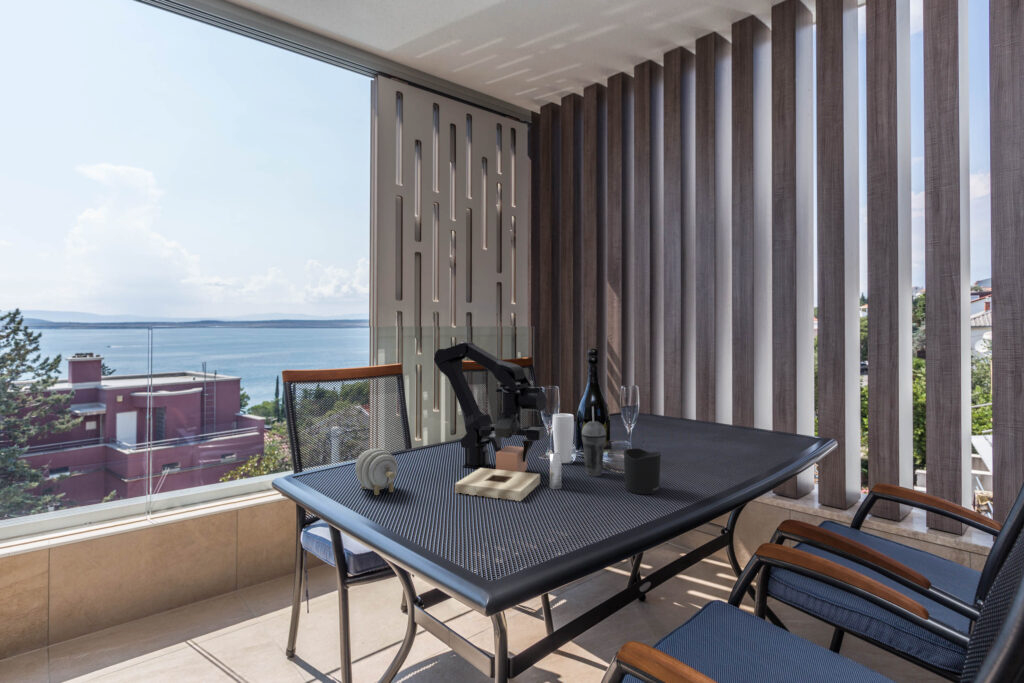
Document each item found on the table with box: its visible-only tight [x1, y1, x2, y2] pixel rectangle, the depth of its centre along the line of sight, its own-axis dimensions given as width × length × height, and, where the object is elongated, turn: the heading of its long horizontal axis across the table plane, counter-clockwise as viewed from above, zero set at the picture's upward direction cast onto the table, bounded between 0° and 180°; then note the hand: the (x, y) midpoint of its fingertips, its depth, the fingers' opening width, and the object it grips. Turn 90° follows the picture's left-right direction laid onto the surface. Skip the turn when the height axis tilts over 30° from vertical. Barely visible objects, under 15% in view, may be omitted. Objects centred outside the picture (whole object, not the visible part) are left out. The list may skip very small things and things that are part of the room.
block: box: [495, 445, 528, 473], centre depth 155 cm, size 6×9×7 cm
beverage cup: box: [581, 406, 608, 477], centre depth 153 cm, size 7×7×20 cm
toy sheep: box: [354, 448, 399, 496], centre depth 138 cm, size 11×17×11 cm, turn 46°
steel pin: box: [549, 452, 563, 490], centre depth 141 cm, size 3×3×9 cm
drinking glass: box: [551, 412, 575, 464], centre depth 167 cm, size 7×7×15 cm
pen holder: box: [623, 448, 662, 495], centre depth 139 cm, size 9×9×10 cm
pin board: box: [454, 467, 541, 502], centre depth 140 cm, size 18×16×2 cm
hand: (511, 460), depth 155 cm, fingers open, 8 cm apart
